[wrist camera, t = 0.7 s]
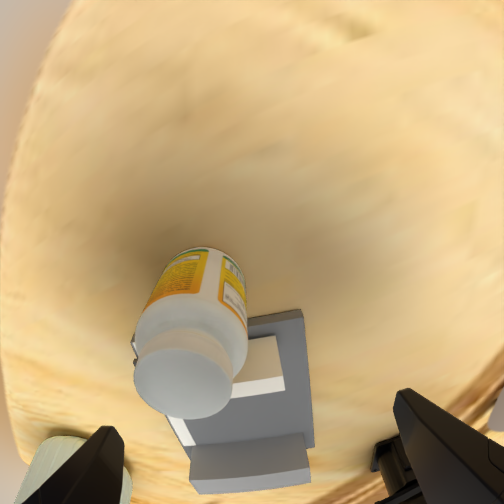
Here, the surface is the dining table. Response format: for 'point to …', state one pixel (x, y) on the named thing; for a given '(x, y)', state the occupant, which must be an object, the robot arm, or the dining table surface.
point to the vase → (52, 458)
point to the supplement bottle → (192, 335)
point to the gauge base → (256, 423)
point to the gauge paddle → (258, 369)
